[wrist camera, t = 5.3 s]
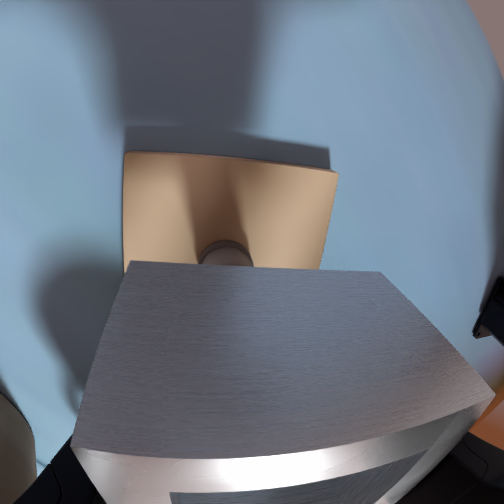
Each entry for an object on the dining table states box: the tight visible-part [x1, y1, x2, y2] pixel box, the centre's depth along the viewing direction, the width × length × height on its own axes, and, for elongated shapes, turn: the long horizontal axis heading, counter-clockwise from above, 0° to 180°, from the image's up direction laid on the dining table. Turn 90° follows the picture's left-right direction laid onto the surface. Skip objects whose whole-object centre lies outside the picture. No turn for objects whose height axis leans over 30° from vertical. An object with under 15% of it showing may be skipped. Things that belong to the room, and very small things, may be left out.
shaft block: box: [123, 151, 339, 272], centre depth 14 cm, size 10×10×6 cm
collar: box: [70, 260, 496, 504], centre depth 7 cm, size 7×7×5 cm
